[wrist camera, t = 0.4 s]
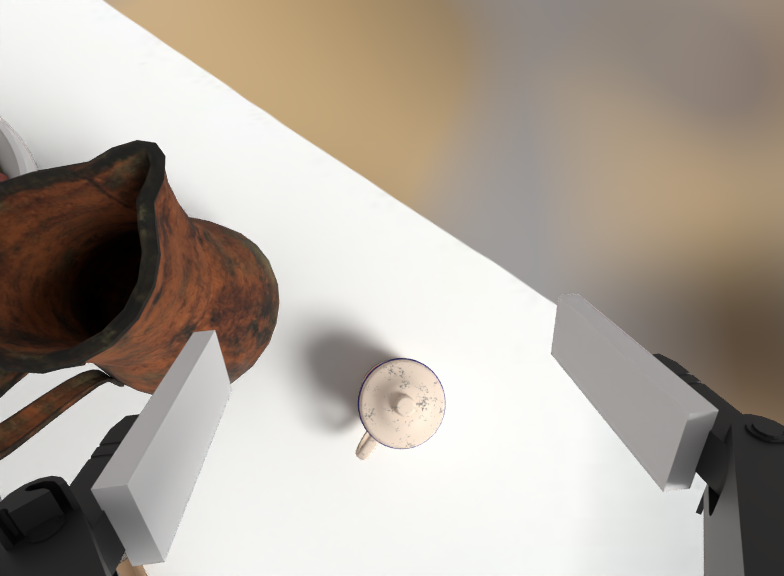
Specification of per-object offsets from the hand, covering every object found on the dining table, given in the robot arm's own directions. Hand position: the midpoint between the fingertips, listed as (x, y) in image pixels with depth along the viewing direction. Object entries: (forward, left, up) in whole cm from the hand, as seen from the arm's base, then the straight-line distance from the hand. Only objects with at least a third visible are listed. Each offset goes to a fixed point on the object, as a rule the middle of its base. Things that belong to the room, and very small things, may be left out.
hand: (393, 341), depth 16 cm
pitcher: (+11, +15, -36) cm, 40 cm away
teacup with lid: (-7, +1, -36) cm, 36 cm away
